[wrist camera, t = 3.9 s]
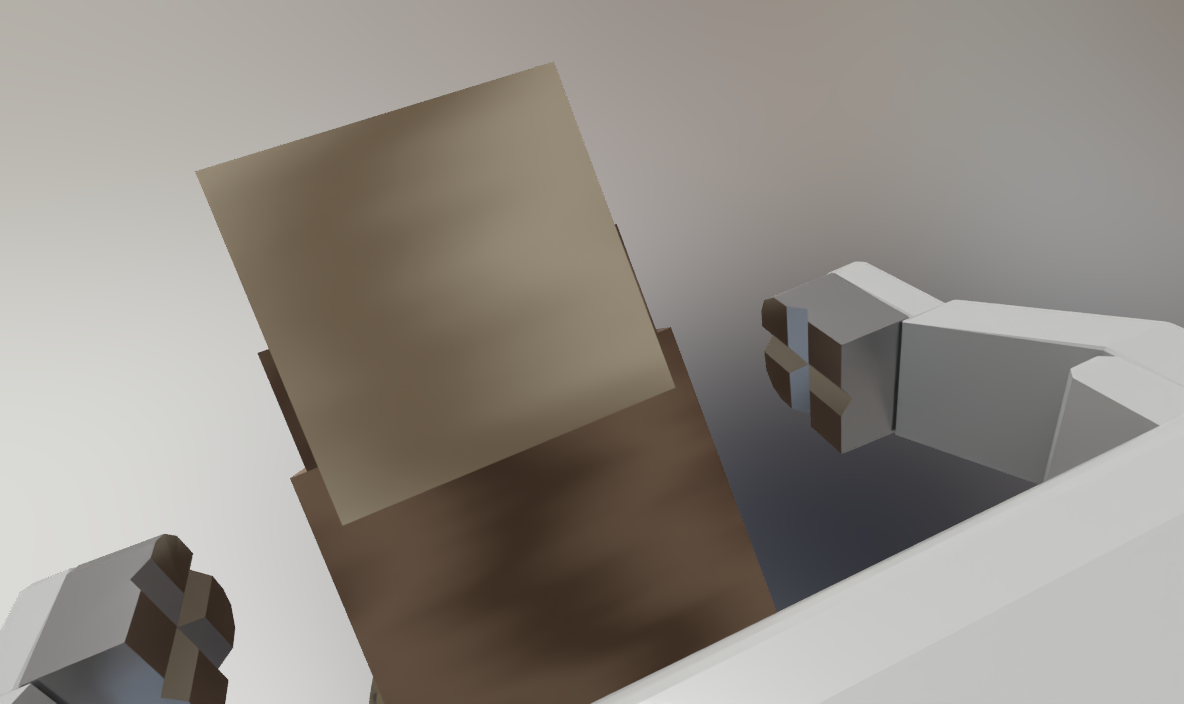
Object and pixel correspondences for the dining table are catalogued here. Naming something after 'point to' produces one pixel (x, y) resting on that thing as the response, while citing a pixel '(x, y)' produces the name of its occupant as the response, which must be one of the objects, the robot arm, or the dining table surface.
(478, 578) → the walnut stand
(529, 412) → the maple bar
